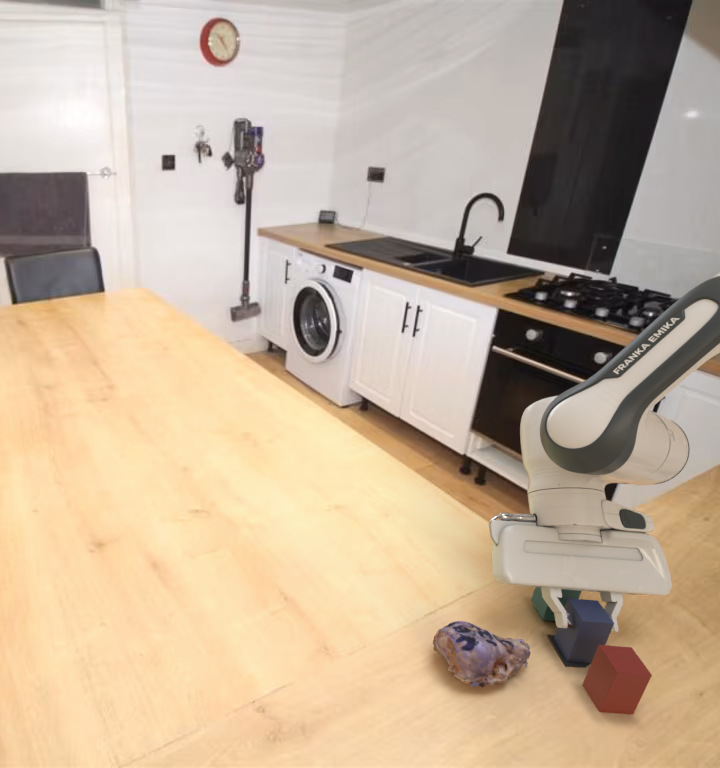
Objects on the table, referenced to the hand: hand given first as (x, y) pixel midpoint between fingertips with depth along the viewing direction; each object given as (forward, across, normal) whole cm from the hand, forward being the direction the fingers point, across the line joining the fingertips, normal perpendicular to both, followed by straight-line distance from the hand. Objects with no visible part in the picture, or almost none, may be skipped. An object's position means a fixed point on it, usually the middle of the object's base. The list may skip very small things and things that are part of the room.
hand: (587, 630), depth 67 cm
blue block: (+3, 0, +4) cm, 4 cm away
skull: (+5, -13, +1) cm, 14 cm away
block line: (+3, 0, +4) cm, 5 cm away
